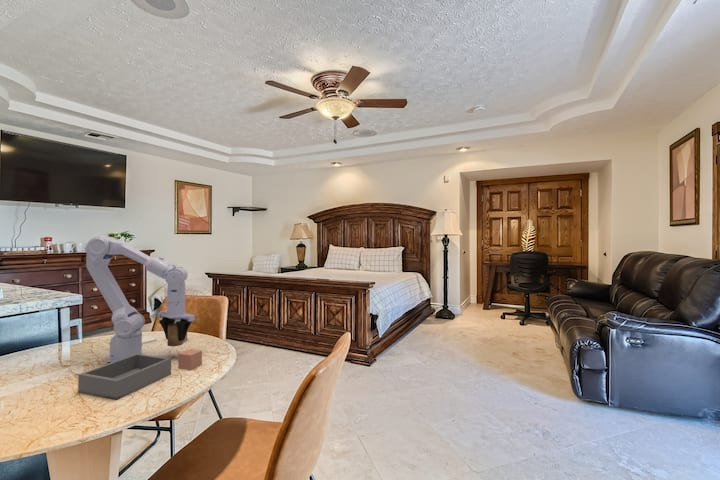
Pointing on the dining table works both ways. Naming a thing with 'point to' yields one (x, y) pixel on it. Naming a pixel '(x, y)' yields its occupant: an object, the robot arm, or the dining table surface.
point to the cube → (190, 359)
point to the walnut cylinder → (173, 335)
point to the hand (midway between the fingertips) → (175, 339)
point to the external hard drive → (148, 339)
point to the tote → (124, 376)
